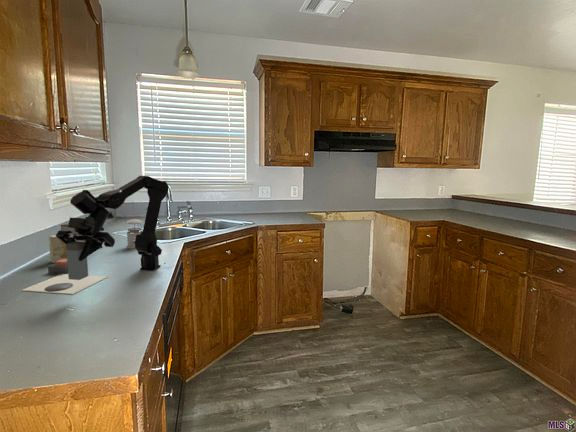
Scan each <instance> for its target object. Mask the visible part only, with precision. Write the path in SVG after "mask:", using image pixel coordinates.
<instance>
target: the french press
mask: <svg viewBox="0 0 576 432" xmlns="http://www.w3.org/2000/svg"><path fill="white" fill-rule="evenodd" d="M131 205H133V206H132V209H133V212H135V208H134V207H135V206H134V205H136V201H132V202H131ZM126 224H127V225H133V227H132V228H127V231H126V237H127V238H126V240H127V245H126V246H125V248H127V249H136V248H135V244H134V243H135V240H136V235H137V234H139V235H140V234H141V233H142V231H143V230H142V228H143V227H144V224H143V222H142V221H141V220H140V219H137V218H133V219H129V220H127V221H126ZM135 225H137V226H138V227H136V226H135Z"/></svg>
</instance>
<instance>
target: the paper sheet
mask: <svg viewBox="0 0 576 432" xmlns="http://www.w3.org/2000/svg"><path fill="white" fill-rule="evenodd" d="M106 279H108V276H101V275H100V276H99V275H88V276H87V277H85V278H83V279H81V280H72V279H69V277H68V274H57V275H56V276H53V277H51V278H49V279H46V280H43V281H41V282H39V283H35V284H33V285H31V286H28V287H26V288H24V289H22V290H21V291H22V292H33V293H35V292H36V293H46V294H47V293H48V294H49V293H50V294H62V295H75V294H77V293H79V292H81V291H83V290H85V289H88V288H89V287H92V286H93V284H94V285H96V284H98V283H99V281H100V282H102V281H103V280H106ZM101 280H102V281H101ZM97 282H98V283H97ZM95 283H96V284H95ZM91 285H92V286H91Z"/></svg>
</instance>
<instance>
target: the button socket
mask: <svg viewBox="0 0 576 432" xmlns="http://www.w3.org/2000/svg"><path fill="white" fill-rule="evenodd" d="M47 271H48V274H54V275H55V274H56V275H61V274H68V265H66V266H58V265H56V263H52V264H50V265H47Z"/></svg>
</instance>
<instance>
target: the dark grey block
mask: <svg viewBox="0 0 576 432" xmlns="http://www.w3.org/2000/svg"><path fill="white" fill-rule="evenodd" d="M85 245H86V242H72V243H68V244H66V253H67V265H68V277H69V279H72V280H81V279H83V278H85V277H87V276H89V268H88V267H89V266H88V257H86V258H85V259H83V260H82V261H80V260H79V257H80V255H81V253H82V251H83V249H84V247H85Z"/></svg>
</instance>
